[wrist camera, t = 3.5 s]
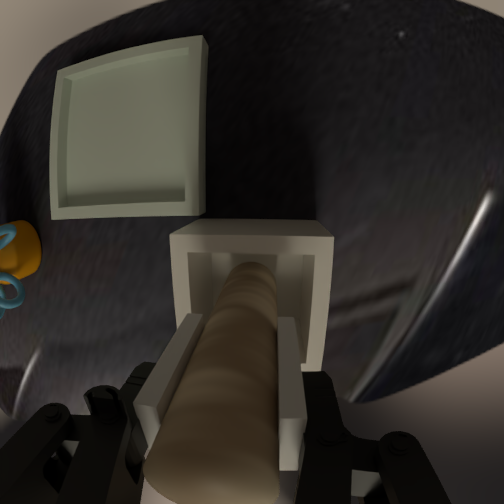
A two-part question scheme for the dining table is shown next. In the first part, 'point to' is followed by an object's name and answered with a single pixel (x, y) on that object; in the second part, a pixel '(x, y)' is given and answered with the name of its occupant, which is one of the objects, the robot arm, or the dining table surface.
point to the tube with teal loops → (17, 258)
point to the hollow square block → (264, 252)
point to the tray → (131, 133)
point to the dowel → (226, 403)
